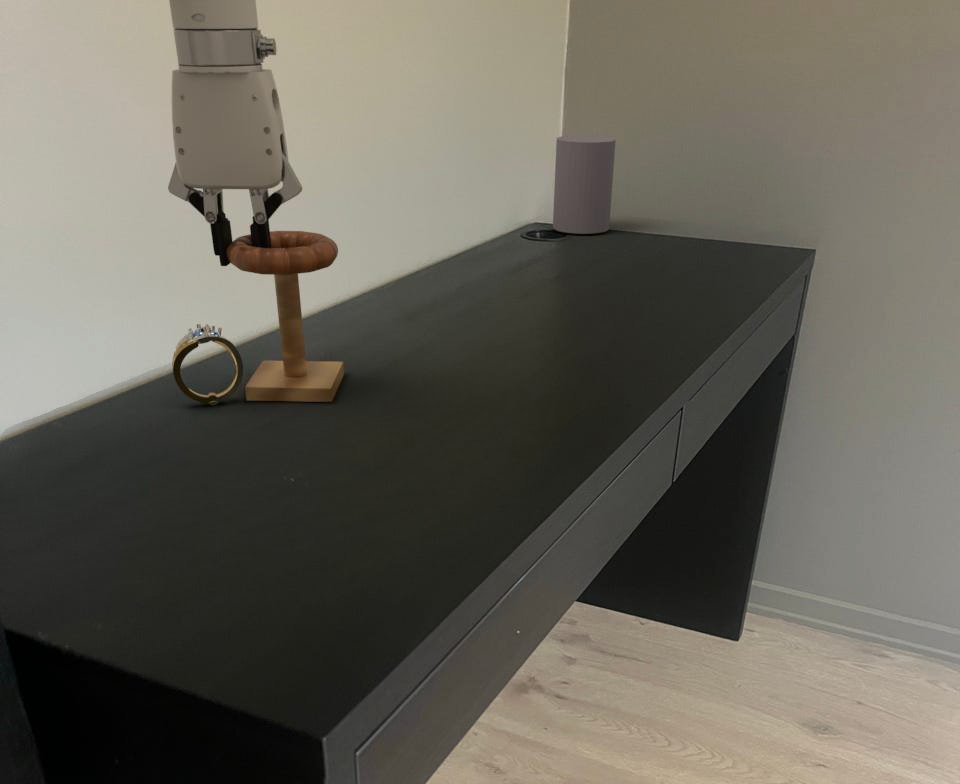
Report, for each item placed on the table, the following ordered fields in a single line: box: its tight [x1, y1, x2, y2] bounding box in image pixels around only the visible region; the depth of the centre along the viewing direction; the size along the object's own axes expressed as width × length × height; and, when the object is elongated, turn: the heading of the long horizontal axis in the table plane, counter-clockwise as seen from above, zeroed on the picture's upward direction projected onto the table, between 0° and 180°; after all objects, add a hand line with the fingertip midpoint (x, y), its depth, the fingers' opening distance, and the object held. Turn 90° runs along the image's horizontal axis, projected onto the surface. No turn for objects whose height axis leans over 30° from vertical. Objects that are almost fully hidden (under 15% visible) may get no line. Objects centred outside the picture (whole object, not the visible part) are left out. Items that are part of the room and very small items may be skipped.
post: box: [244, 274, 345, 403], centre depth 103 cm, size 9×9×14 cm
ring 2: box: [227, 230, 339, 276], centre depth 99 cm, size 11×11×2 cm
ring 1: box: [171, 323, 244, 406], centre depth 100 cm, size 7×3×8 cm, turn 107°
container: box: [552, 134, 617, 236], centre depth 177 cm, size 10×10×15 cm
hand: (244, 261), depth 100 cm, fingers closed on ring 2, 2 cm apart
